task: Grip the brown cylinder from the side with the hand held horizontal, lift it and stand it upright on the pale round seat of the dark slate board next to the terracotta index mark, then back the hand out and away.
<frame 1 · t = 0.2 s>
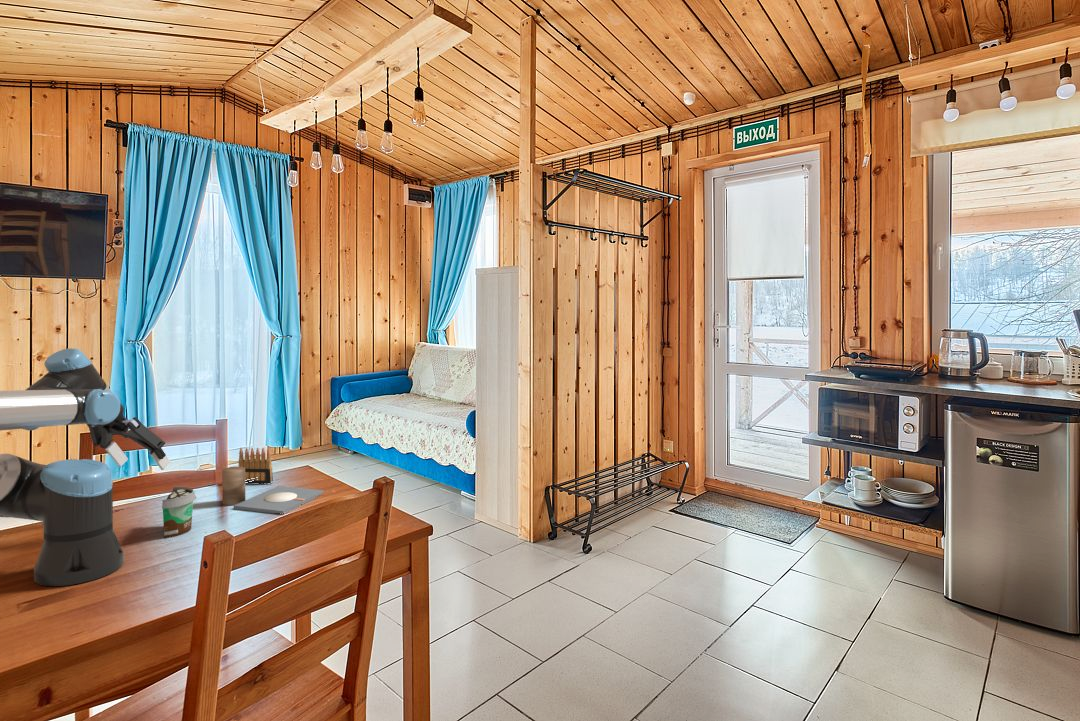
hand: (144, 464, 153), 15 cm above the table, tool tilted 35°, fingers open, 13 cm apart
ammunition clip: (255, 483, 189), on the table
seat board: (280, 500, 172), on the table
brown cylinder: (234, 502, 170), on the table
food container: (182, 530, 148), on the table
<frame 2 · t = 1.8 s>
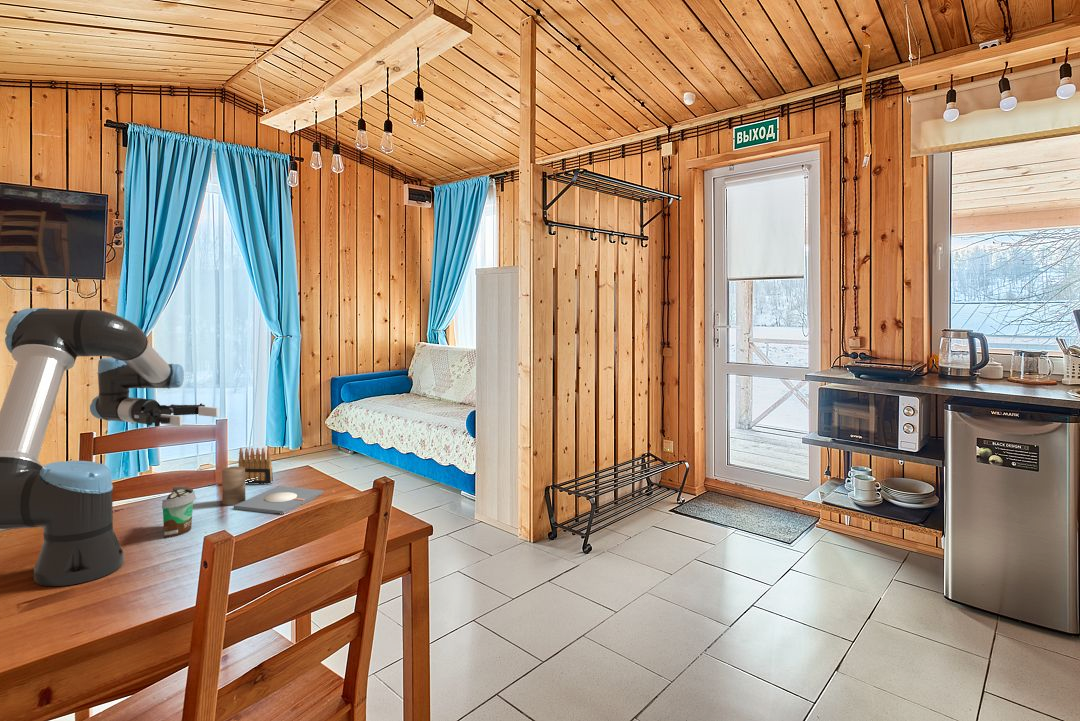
hand: (200, 416, 170), 25 cm above the table, tool horizontal, fingers open, 13 cm apart
nothing on the table moved.
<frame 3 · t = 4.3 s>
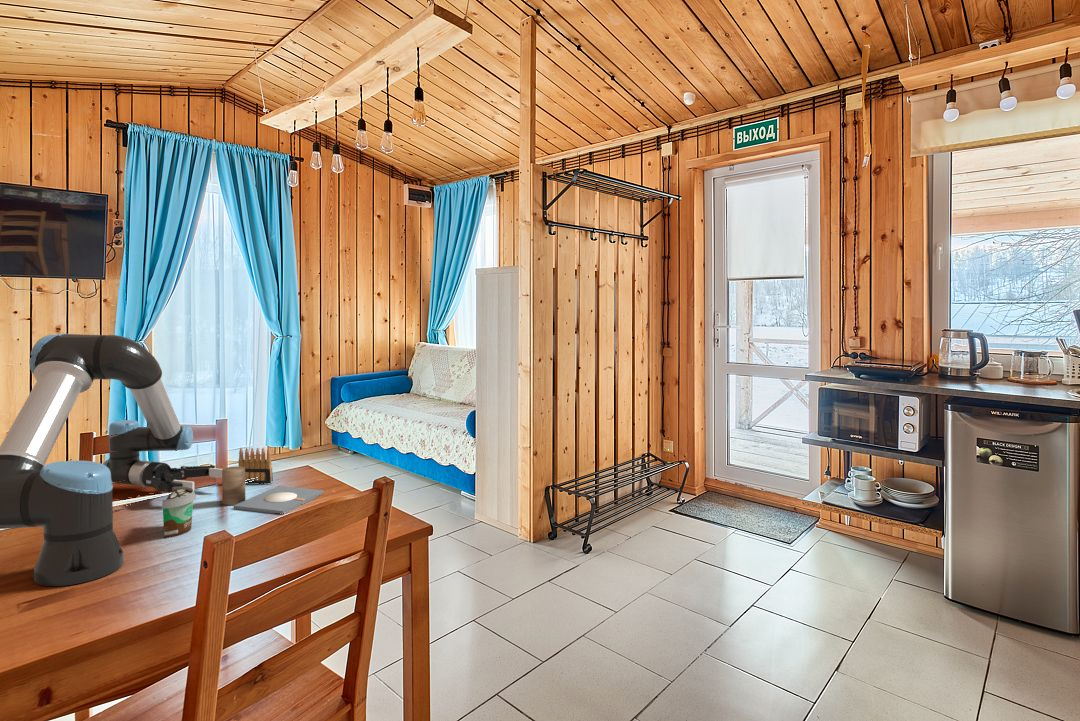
hand: (211, 480, 171), 6 cm above the table, tool horizontal, fingers open, 13 cm apart
nothing on the table moved.
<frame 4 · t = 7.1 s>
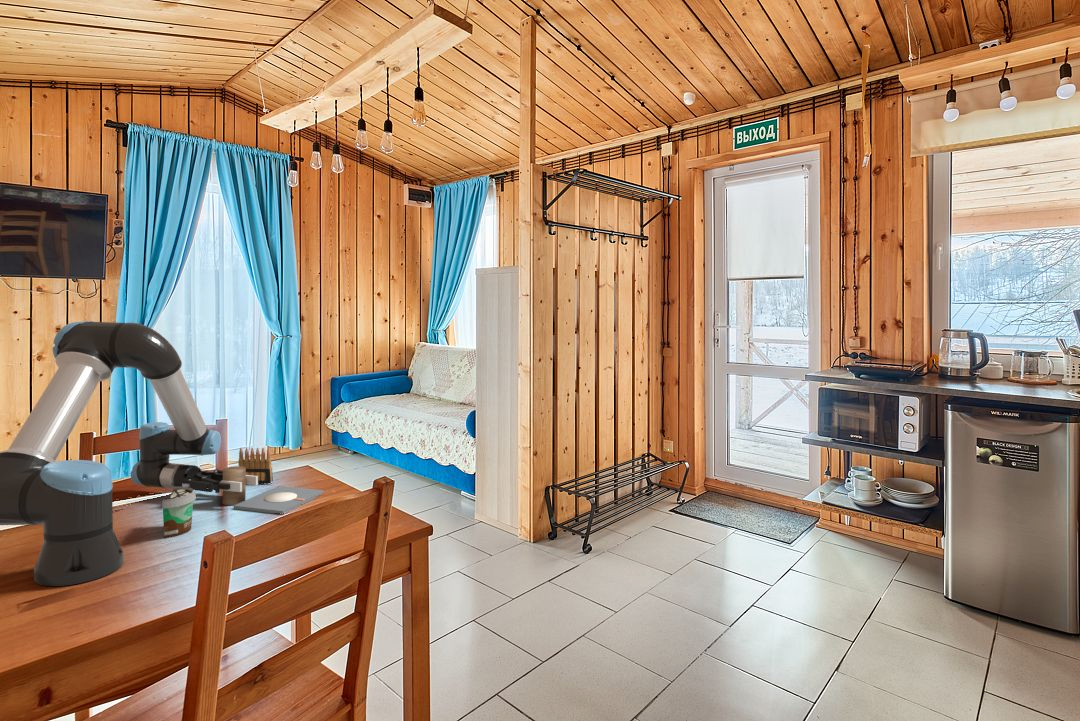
hand: (249, 483, 168), 6 cm above the table, tool horizontal, fingers closed on brown cylinder, 6 cm apart
brown cylinder: (234, 502, 170), on the table, touching gripper
everything else where it was.
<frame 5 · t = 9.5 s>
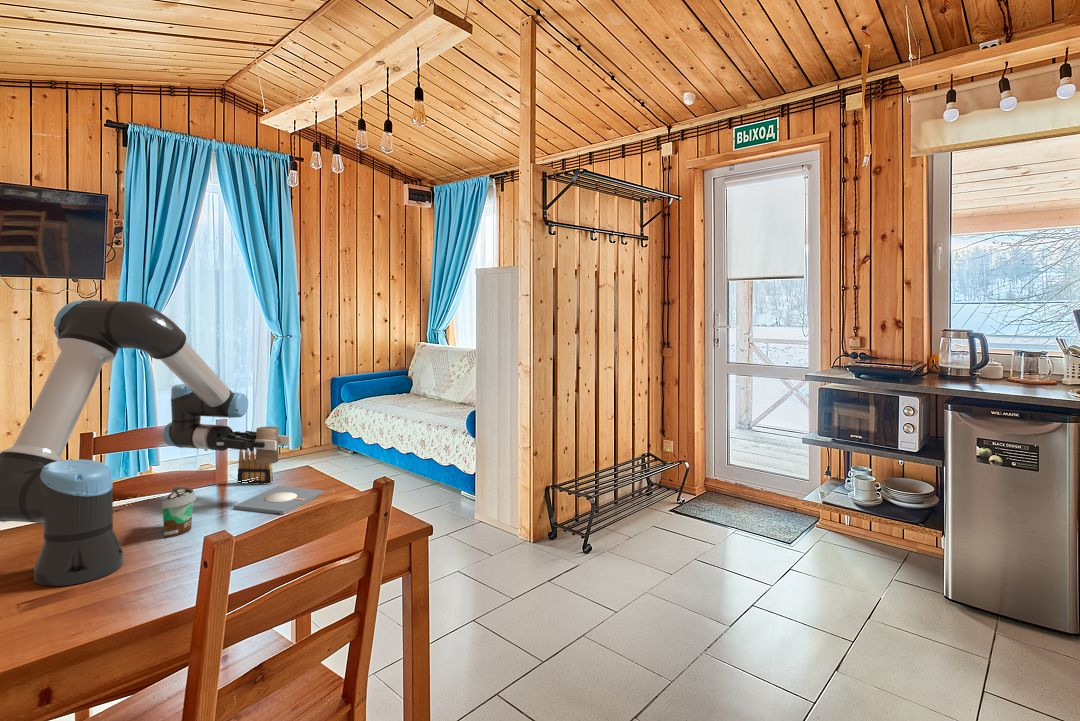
hand: (282, 443, 170), 18 cm above the table, tool horizontal, fingers closed on brown cylinder, 6 cm apart
brown cylinder: (267, 461, 171), point 12 cm above the table, touching gripper
everything else where it was.
when the fingers open (8 cm above the table, at t = 12.1 s): brown cylinder stays where it is, resting on seat board.
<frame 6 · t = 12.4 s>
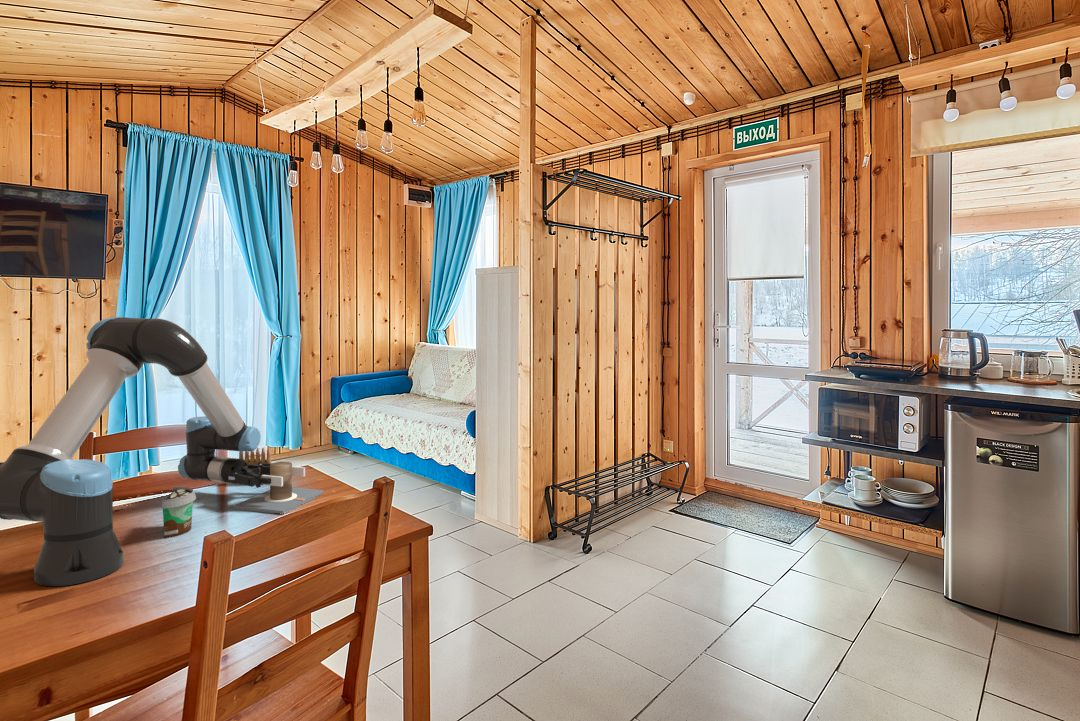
hand: (293, 476, 171), 8 cm above the table, tool horizontal, fingers open, 10 cm apart
brown cylinder: (281, 496, 172), point 1 cm above the table, touching seat board
everything else where it was.
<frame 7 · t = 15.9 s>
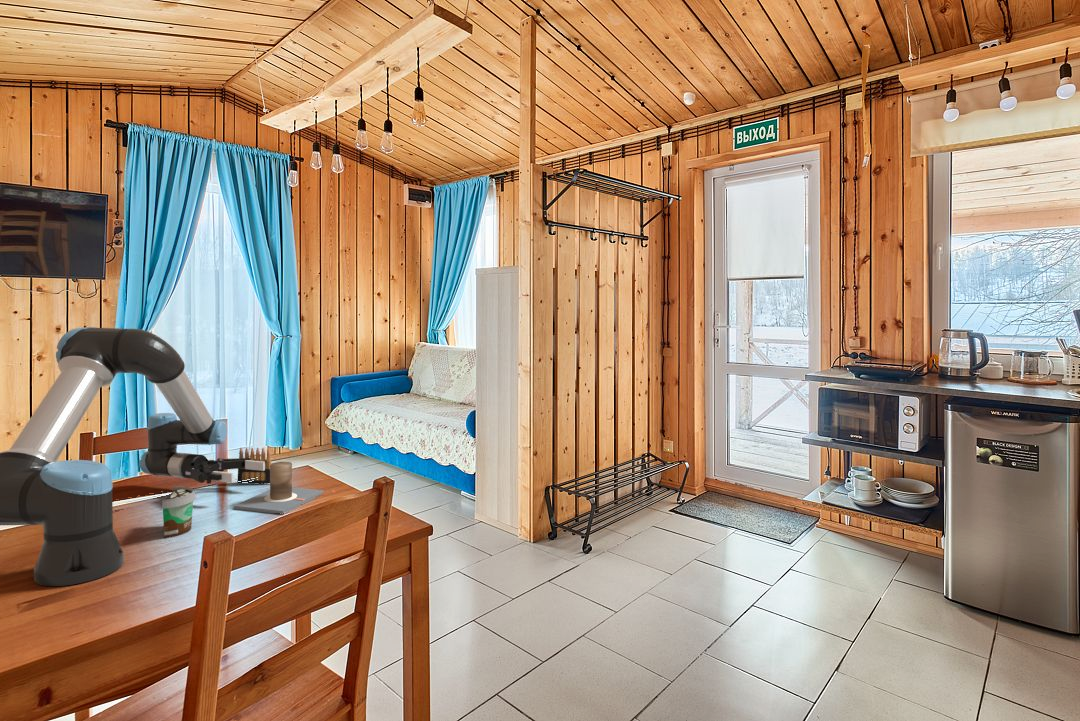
hand: (249, 471, 174), 8 cm above the table, tool horizontal, fingers open, 13 cm apart
nothing on the table moved.
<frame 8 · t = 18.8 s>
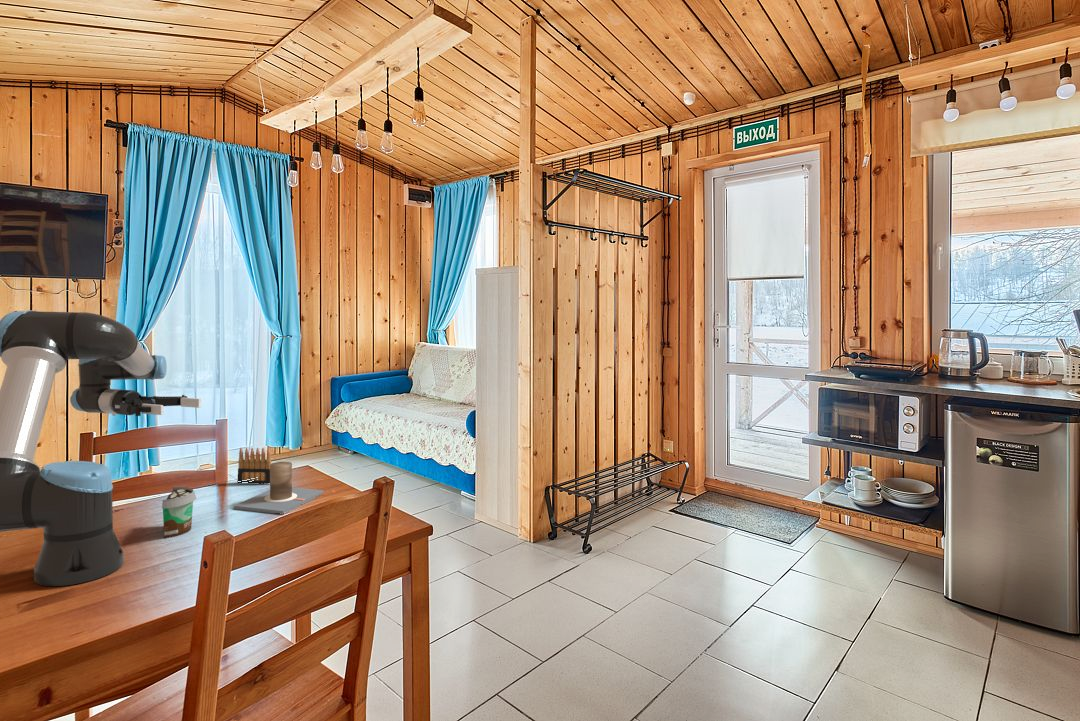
hand: (181, 406, 169), 28 cm above the table, tool horizontal, fingers open, 13 cm apart
nothing on the table moved.
at the end: brown cylinder 0.1 cm off-centre on the seat board, point 1.2 cm above the seat board's base; brown cylinder tilted 0°; the gripper is holding nothing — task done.
